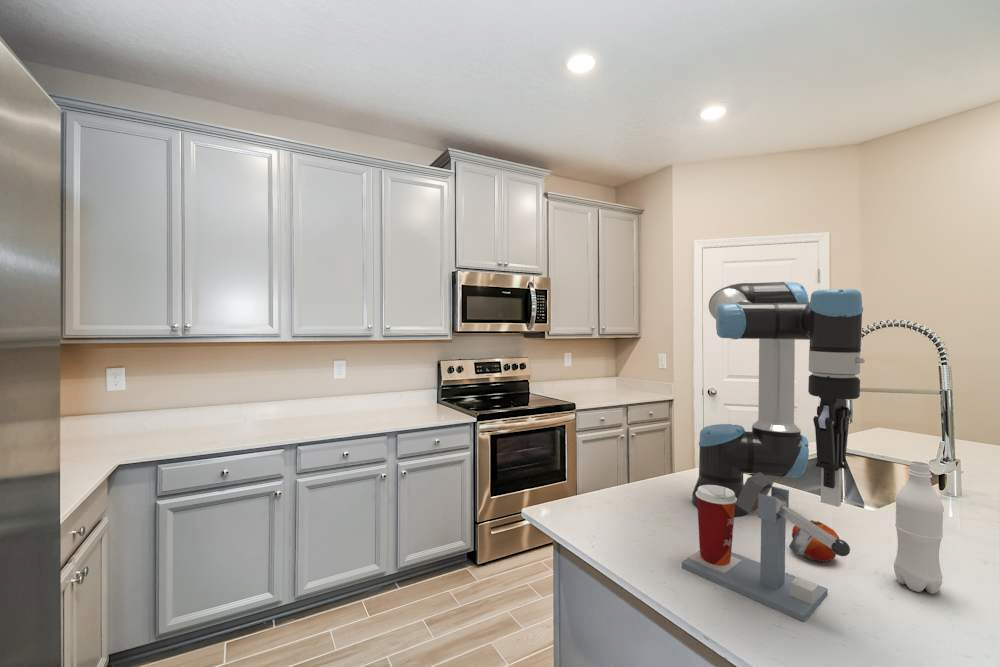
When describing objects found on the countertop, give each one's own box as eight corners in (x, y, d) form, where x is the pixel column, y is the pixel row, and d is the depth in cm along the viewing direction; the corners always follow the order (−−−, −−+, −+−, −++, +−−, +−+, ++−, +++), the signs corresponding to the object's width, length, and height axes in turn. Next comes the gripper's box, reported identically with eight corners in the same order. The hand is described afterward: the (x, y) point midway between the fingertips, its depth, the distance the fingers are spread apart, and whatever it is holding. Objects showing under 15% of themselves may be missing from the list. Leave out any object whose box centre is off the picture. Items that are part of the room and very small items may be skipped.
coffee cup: (741, 570, 94) (742, 498, 94) (699, 565, 96) (700, 495, 95) (729, 550, 102) (730, 484, 102) (690, 546, 104) (691, 482, 104)
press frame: (681, 567, 98) (683, 478, 98) (710, 549, 106) (711, 466, 106) (804, 622, 80) (806, 512, 80) (827, 594, 88) (829, 495, 88)
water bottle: (884, 577, 94) (886, 458, 94) (915, 575, 95) (918, 457, 95) (918, 598, 87) (921, 469, 87) (952, 596, 88) (955, 468, 87)
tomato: (826, 571, 97) (826, 534, 97) (782, 551, 105) (783, 517, 105) (849, 560, 101) (849, 525, 101) (805, 543, 109) (806, 510, 109)
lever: (730, 512, 93) (747, 478, 91) (743, 505, 97) (759, 472, 94) (829, 582, 80) (853, 544, 77) (840, 570, 84) (862, 534, 81)
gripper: (848, 380, 75) (845, 520, 76) (869, 374, 83) (865, 500, 84) (797, 375, 81) (794, 506, 81) (821, 370, 89) (818, 489, 90)
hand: (830, 503), depth 83 cm, fingers closed
